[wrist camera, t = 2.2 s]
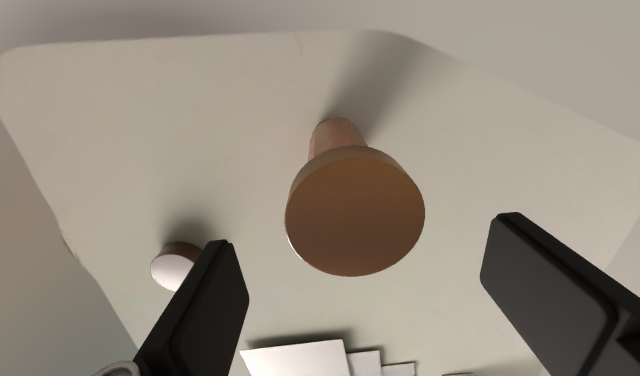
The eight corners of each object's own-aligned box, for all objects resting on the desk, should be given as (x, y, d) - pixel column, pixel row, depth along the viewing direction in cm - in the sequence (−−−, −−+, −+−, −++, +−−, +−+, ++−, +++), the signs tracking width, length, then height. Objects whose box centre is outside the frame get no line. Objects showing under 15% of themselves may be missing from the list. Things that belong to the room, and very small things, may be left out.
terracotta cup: (307, 120, 21) (299, 167, 12) (359, 114, 21) (395, 157, 11) (313, 168, 23) (310, 244, 13) (361, 163, 23) (393, 236, 13)
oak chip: (278, 152, 11) (271, 166, 10) (414, 137, 11) (431, 150, 9) (298, 256, 14) (295, 282, 12) (408, 247, 14) (420, 271, 12)
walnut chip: (153, 243, 27) (141, 256, 25) (200, 239, 27) (192, 251, 25) (171, 279, 29) (161, 293, 27) (214, 275, 29) (208, 289, 27)
